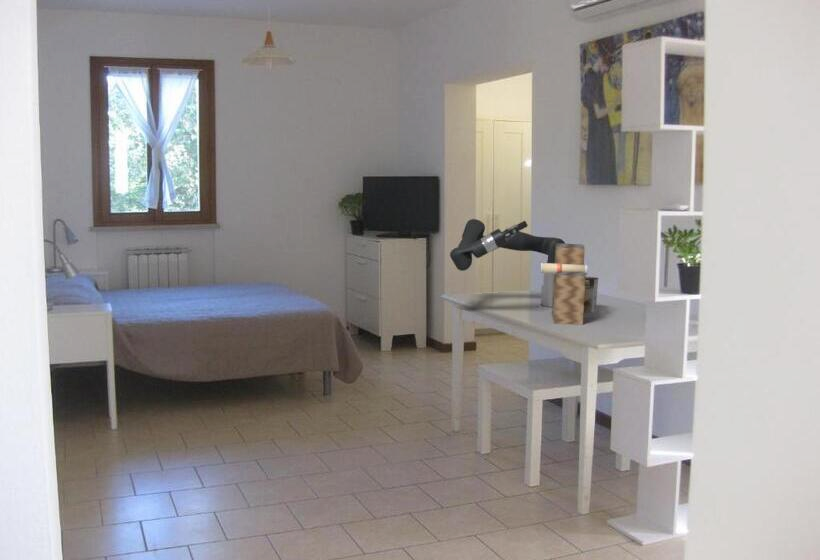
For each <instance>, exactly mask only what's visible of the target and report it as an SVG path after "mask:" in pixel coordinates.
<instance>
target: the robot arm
mask: <svg viewBox="0 0 820 560" xmlns="http://www.w3.org/2000/svg"><path fill="white" fill-rule="evenodd" d="M527 227H528V223H527V221H526V220H522V222H519V223H517V224H514V225H512V226H509V227H507V228H505V229H504V230H503V231H501V229H500V228H497V229H495V230H493V231H492V232H489V233H487V234H486V235H484V233H485V230H486V225H485V224H484V222H483V221H481V220H480V219H477V218H471V219H469V220H468V221H467V222H466V223H465V226H464V230H463V233H462V235H461V240H460V242H459V243H458V246H456V247H455V248H453V249H451V250H450V253H449V257H450V259H451V260H452V262H453V264H454V266H455V267H456V269H457V270H458V271H461V272H463V271H464V272H465V271H467V270H469V268H470V267H471V265H472V263H473V256H474V257H475V258H476V259H480V258H481V257H483V256H485V255H488V254H489V253H492V252H493V251H495V250H498V249H499V248H502V249H506V250H512V251H518V252H535V253H536V252H537V253H540V254H544V255H546V256H547V260H546V263H554V264H555V247H556V243H560V244H566V242H565V241H564V240H563V238H562V239H561V238H559V237H552V236H550V237H548V236H544V237H543V236H537V235H532V234H529V233H527V232H523V231H521V230H524V229H525V228H527ZM542 280H543V281H542V282H543V285H541V291H540V305H541V306H544V307H550V308H552V305H553V286H554V274H551V273H543V279H542Z"/></svg>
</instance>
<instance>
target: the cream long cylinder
mask: <svg viewBox="0 0 820 560" xmlns="http://www.w3.org/2000/svg"><path fill="white" fill-rule="evenodd" d="M588 269H589V266H588V264H584V265H576V264H554V263H547V262H540V267H539V270H540V274H544V273H551V274H557V272H573V273H585V276H588Z"/></svg>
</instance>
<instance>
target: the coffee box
mask: <svg viewBox="0 0 820 560" xmlns="http://www.w3.org/2000/svg"><path fill="white" fill-rule="evenodd" d="M598 286H599V277H594V276H587V275H585V293H584V311H583V312H586V313H594V312H596V311H597V303H598V302H597V300H598V299H597V298H598Z"/></svg>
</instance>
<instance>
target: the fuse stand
mask: <svg viewBox="0 0 820 560" xmlns="http://www.w3.org/2000/svg"><path fill="white" fill-rule="evenodd" d="M585 253H586V252H585V245H584V244H581V243H565V244H560V243H556V247H555V264H576V265H585ZM585 276H586V275H585V273H573V272H557V274H554V286H553V305H552V307H551V309H552V310H551V311H552V312H551V318H552V320H553V324H556V323H560V324H562V325H577V324H579V325H581V326H582V325H583V324H584V312H585V311H584V293H585ZM560 324H559V325H560Z"/></svg>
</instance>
